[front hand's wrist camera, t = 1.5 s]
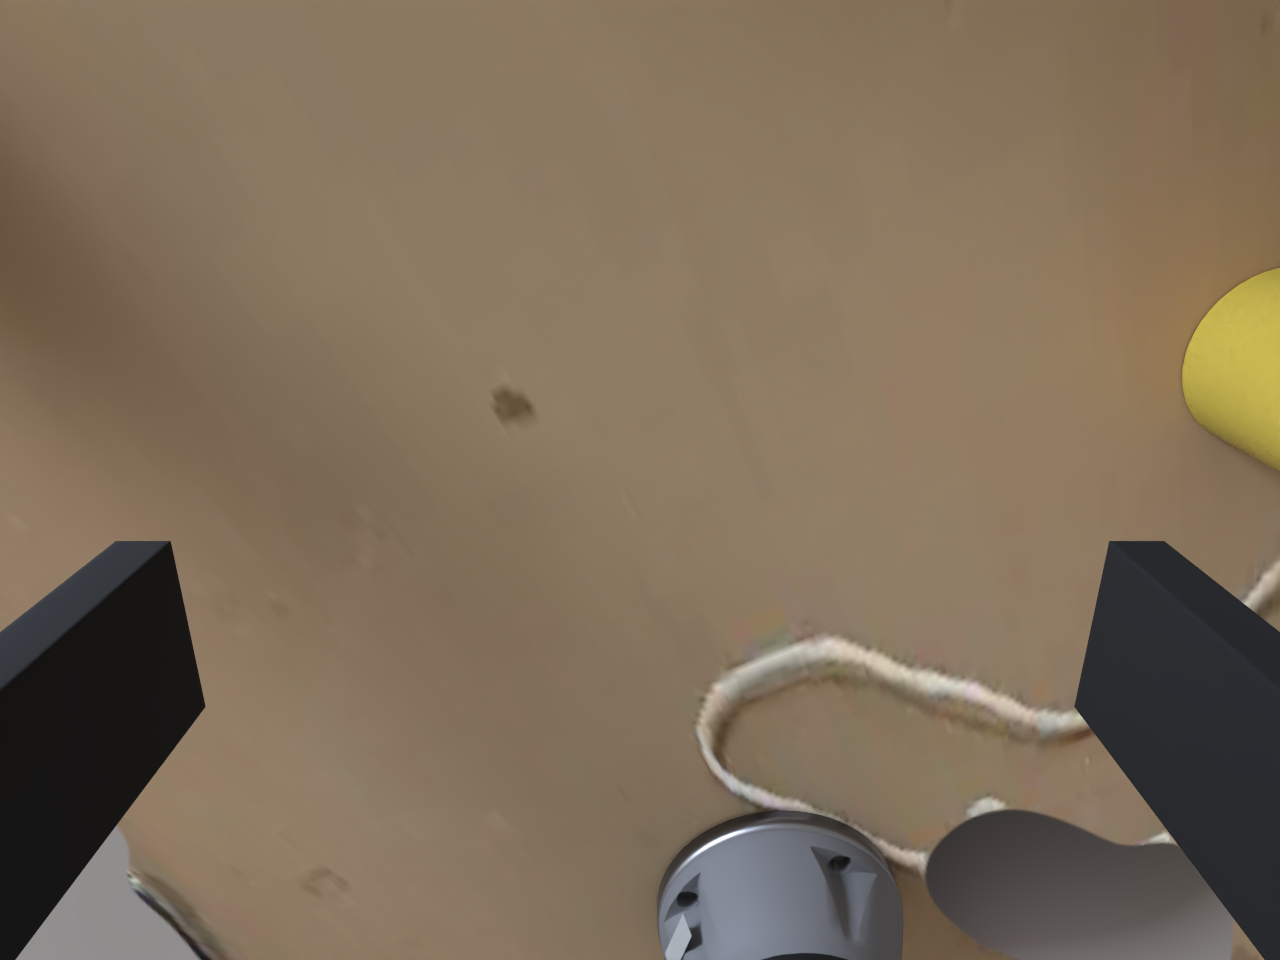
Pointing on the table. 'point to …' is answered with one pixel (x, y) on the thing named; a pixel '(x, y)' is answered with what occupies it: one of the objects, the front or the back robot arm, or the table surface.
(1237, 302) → the can
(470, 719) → the table surface
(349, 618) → the table surface
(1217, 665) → the front robot arm
